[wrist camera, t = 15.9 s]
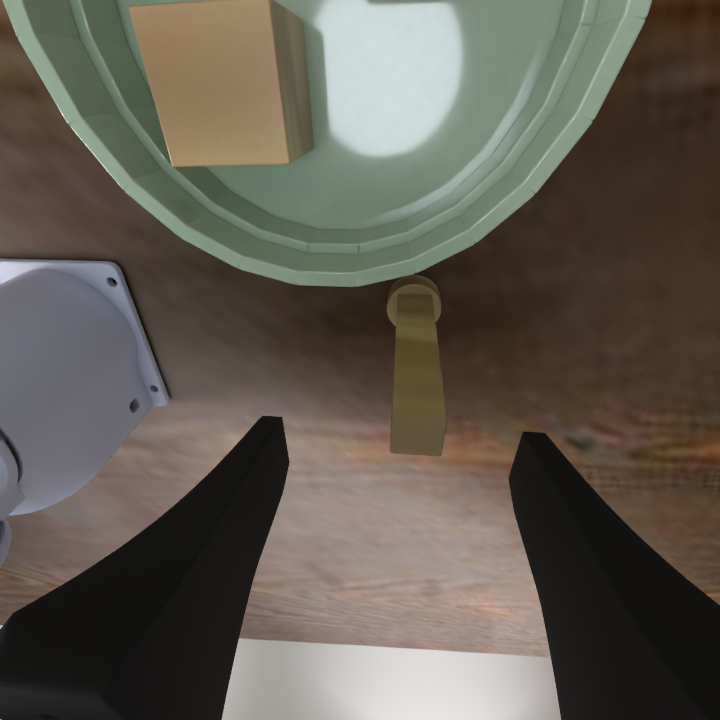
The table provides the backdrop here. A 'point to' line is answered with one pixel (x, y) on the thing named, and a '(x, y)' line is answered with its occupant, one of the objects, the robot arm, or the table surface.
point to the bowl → (354, 126)
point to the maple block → (227, 80)
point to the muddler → (416, 368)
